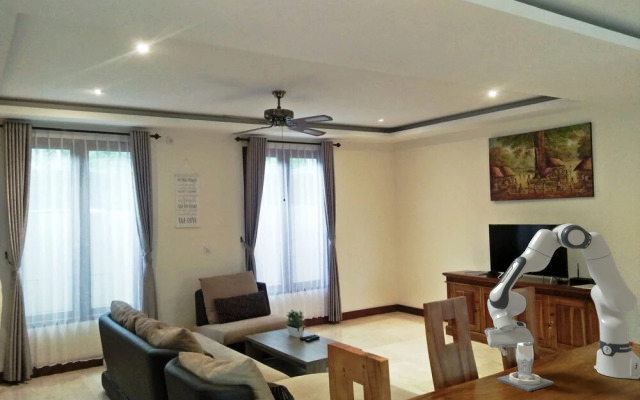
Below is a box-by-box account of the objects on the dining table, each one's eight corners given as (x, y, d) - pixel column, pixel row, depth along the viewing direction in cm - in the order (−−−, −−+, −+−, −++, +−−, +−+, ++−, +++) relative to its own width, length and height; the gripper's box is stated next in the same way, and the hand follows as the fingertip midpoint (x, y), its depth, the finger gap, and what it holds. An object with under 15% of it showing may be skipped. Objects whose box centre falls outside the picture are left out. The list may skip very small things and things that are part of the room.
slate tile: (521, 373, 219) (521, 368, 220) (553, 384, 206) (553, 378, 206) (496, 380, 211) (496, 374, 211) (529, 391, 198) (528, 385, 198)
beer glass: (514, 377, 212) (513, 342, 213) (530, 376, 212) (529, 341, 213) (520, 382, 205) (519, 346, 206) (536, 382, 205) (535, 346, 206)
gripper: (485, 324, 223) (495, 351, 213) (528, 322, 225) (540, 350, 215) (481, 331, 228) (490, 359, 218) (524, 330, 229) (535, 357, 219)
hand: (515, 354), depth 216 cm, fingers open, 8 cm apart
